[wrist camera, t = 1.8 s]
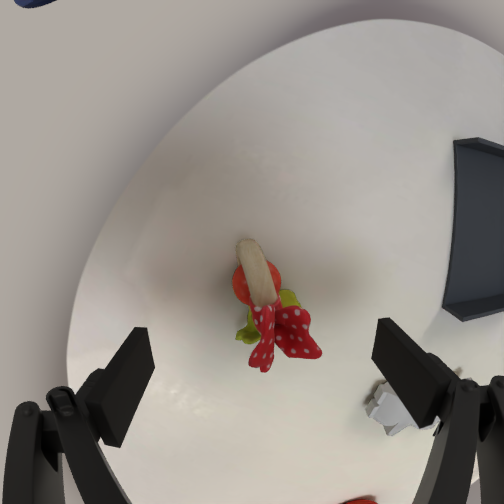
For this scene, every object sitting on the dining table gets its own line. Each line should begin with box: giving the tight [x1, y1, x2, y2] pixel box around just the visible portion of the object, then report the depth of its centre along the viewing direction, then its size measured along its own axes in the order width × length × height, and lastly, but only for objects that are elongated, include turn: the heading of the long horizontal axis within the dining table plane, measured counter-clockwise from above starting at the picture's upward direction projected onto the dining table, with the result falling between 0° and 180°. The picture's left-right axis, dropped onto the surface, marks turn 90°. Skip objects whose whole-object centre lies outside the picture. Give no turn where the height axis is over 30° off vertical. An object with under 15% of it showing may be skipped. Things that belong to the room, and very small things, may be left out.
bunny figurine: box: [365, 378, 472, 436], centre depth 27 cm, size 10×5×15 cm
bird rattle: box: [232, 239, 322, 373], centre depth 20 cm, size 6×11×9 cm
